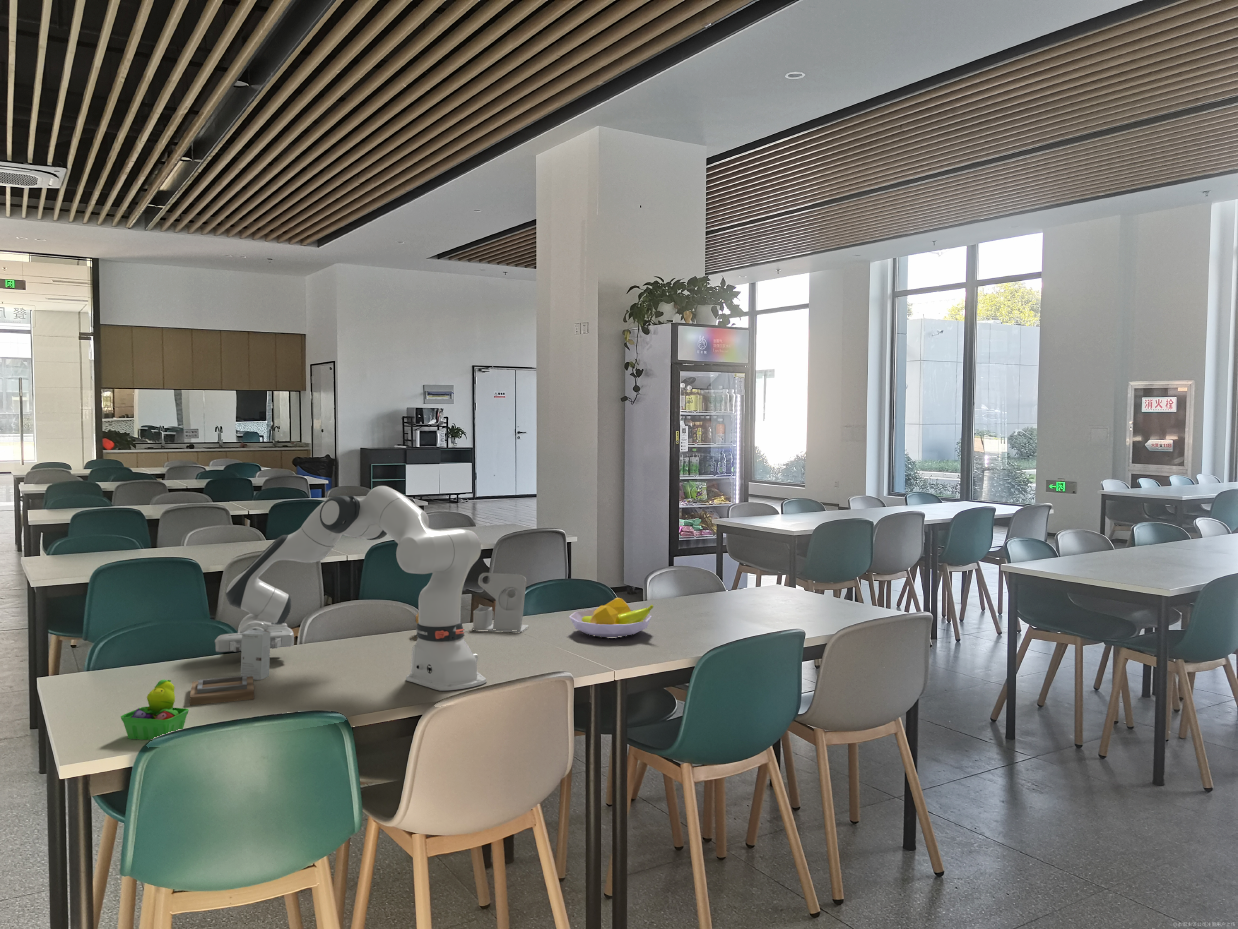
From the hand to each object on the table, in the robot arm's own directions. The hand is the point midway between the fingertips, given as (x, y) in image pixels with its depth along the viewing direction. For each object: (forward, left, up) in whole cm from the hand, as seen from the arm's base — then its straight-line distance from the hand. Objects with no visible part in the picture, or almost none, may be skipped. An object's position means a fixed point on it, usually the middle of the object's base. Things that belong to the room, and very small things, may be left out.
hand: (255, 647), depth 243 cm
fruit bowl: (-22, -106, -7) cm, 108 cm away
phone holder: (+6, -80, -7) cm, 81 cm away
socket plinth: (-19, +13, -6) cm, 24 cm away
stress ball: (+11, -58, -6) cm, 59 cm away
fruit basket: (-42, +32, -7) cm, 53 cm away
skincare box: (-8, +2, -6) cm, 10 cm away
